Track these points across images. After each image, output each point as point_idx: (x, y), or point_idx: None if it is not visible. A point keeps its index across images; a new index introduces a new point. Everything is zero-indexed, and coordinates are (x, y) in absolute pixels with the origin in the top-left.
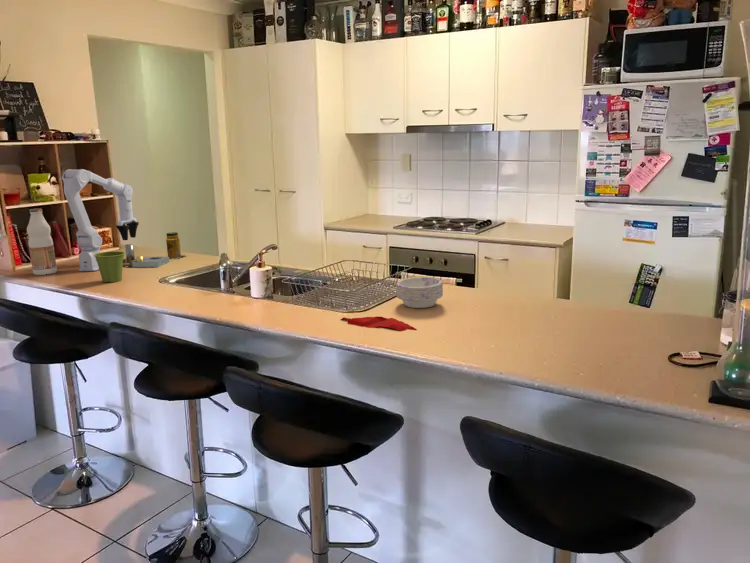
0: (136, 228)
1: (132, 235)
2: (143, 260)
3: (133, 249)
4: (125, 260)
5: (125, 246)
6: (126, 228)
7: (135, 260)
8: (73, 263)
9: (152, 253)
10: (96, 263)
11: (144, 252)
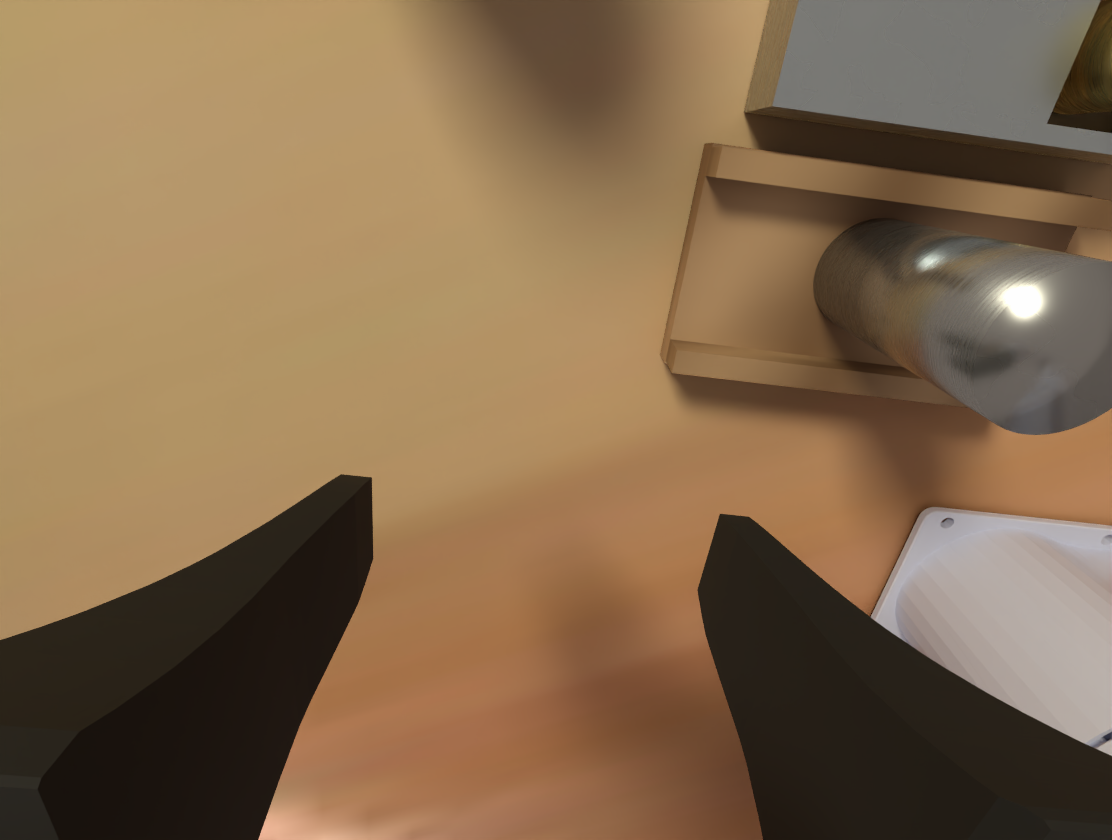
0: (175, 591)
1: (357, 552)
2: (1086, 7)
3: (1015, 245)
4: (829, 362)
5: (1092, 397)
6: (1101, 754)
7: (1099, 143)
8: (633, 795)
9: (56, 241)
10: (1107, 579)
11: (13, 385)
